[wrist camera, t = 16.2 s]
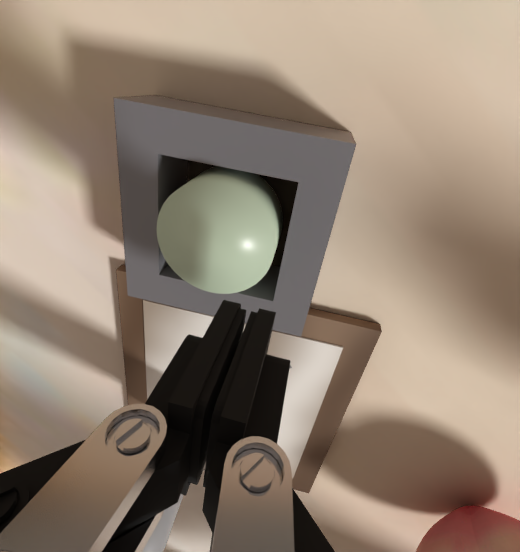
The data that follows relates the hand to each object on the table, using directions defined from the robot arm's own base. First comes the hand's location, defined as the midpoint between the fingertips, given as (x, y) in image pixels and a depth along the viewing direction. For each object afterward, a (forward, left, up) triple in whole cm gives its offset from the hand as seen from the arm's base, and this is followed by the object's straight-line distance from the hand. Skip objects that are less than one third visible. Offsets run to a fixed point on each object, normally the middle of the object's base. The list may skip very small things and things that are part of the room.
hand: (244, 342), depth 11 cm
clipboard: (+1, +11, -7) cm, 13 cm away
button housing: (+2, -2, -6) cm, 7 cm away
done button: (+2, -2, -5) cm, 6 cm away
